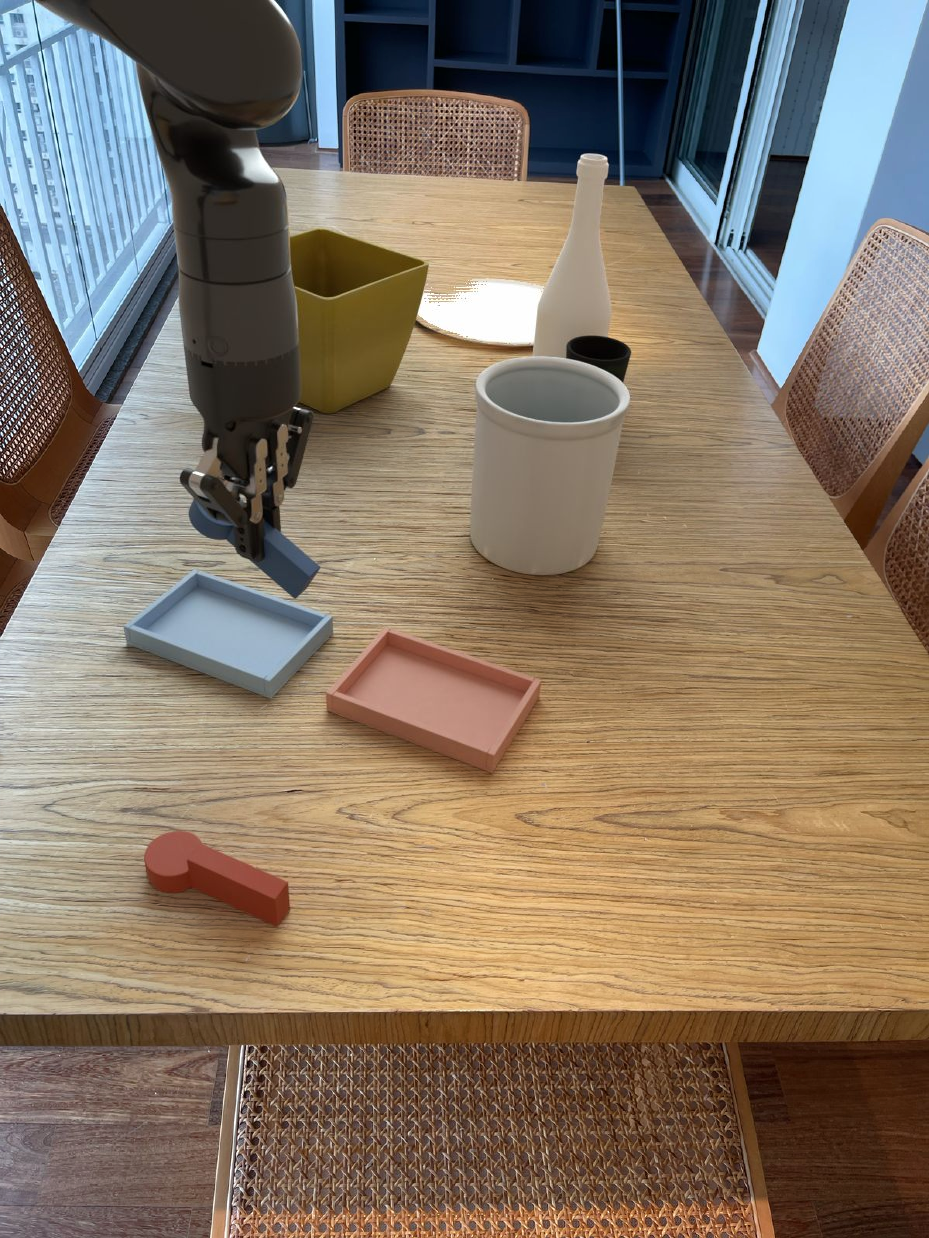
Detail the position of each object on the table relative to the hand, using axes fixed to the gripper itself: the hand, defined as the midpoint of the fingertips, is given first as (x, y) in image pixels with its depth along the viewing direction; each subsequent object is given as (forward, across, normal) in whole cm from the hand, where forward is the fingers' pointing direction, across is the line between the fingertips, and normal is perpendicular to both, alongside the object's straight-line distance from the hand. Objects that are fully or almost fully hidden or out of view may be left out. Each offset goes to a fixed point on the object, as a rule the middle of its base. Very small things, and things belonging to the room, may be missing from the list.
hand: (259, 551), depth 77 cm
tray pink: (+14, -5, +13) cm, 20 cm away
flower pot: (+15, -54, -28) cm, 62 cm away
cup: (+15, -58, +7) cm, 60 cm away
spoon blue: (0, 0, -1) cm, 1 cm away
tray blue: (+14, -4, -7) cm, 16 cm away
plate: (+15, -91, -20) cm, 94 cm away
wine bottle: (+15, -69, 0) cm, 71 cm away
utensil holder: (+15, -33, +10) cm, 38 cm away
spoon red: (+14, +19, +8) cm, 25 cm away
